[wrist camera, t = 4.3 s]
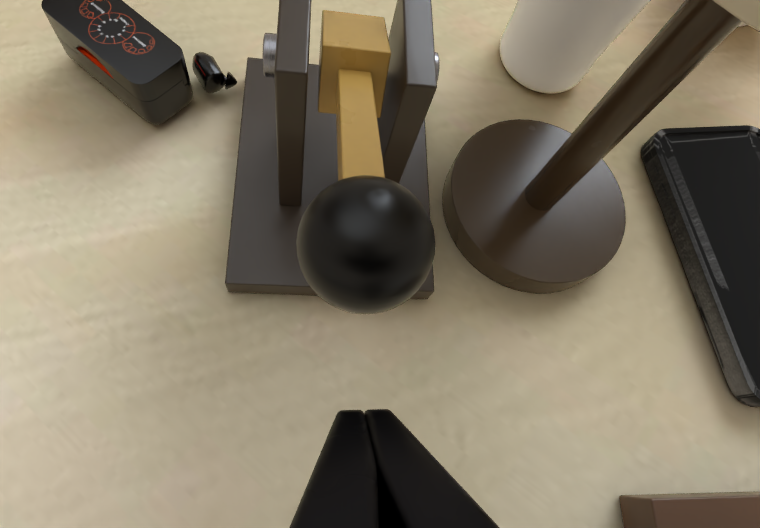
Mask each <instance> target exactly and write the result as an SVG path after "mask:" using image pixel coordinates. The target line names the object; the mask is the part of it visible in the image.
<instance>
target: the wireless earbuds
mask: <svg viewBox="0 0 760 528" xmlns="http://www.w3.org/2000/svg"><path fill="white" fill-rule="evenodd" d="M42 9H43V11H44V12H45V14H46V16H47V18H48V20H49V22H50V24H51V25H52V27H53V29H54V31H55V33H56V35H57V36H58V38H59V40H60V42H61V44H62V46H63V48H64V50H65V51H66V53H67V54H68V55H69V57H70V58H71V59H72V60H74V61H75V62H76V63H77V64H78V65H80V66H81V67H82V68H83V69H84V70H86V71H87V72H88V73H89V74H90V75H92V76H93V77H94V78H95V79H96V80H98V81H99V82H100V83H101V84H103V85H104V86H105V87H106V88H107V89H109V90H110V91H111V92H112V93H113V94H115V95H116V96H117V97H118V98H119V99H121V100H122V101H123V102H124V103H125V104H127V105H128V106H129V107H130V108H131V109H133V110H134V111H135V112H136V113H137V114H139V115H140V116H141V117H142V118H143V119H145V120H146V121H147V122H149V123H151V124H161V123H163V122H165V121H166V120H168V119H169V118H170V117H172V116H173V115H174V114H176V113H177V112H178V111H180V110H181V109H182V108H184V107H185V106H186V105H188V104H189V103H190V102H191V100H192V98H193V91H192V87H191V83H190V79H189V75H188V71H187V67H186V63H185V59H184V55H183V52H182V49H181V48H180V47H179V46H178V45H177V44H176V43H174V42H173V41H172V40H171V39H169V38H168V37H167V36H166V35H164V34H163V33H162V32H161V31H159V30H158V29H157V28H156V27H154V26H153V25H152V24H151V23H149V22H148V21H147V20H146V19H144V18H143V17H142V16H141V15H139V14H138V13H137V12H136V11H134V10H133V9H132V8H131V7H129V6H128V5H127V4H126V3H124V2H123V1H122V0H43V1H42ZM193 71H194V73H195V75H196V77H197V78H198V80H199V82H200V83H201V85H202V86H203V88H204V90H205V91H206V92H207V93H214V92H217V91H219V90H220V89H222V88H223V85H225V84H226V85H225V89H229V88H231V87H233V86H234V85H236V84H237V81H236V79H235V78H234V77H233V75H232V74H231V73H230V72H228V74H227V77H225V75H224V74H223V73H222V71H221V70H220V68H219V66H218V65H217V63H216V61H215V60H214V58H213V57H212V56H210V55H208V54H206V53H203V52H199V53H196V54H195V55H194V57H193Z"/></svg>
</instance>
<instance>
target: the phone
mask: <svg viewBox="0 0 760 528" xmlns="http://www.w3.org/2000/svg"><path fill="white" fill-rule="evenodd" d="M641 155H642V159H643V162H644V164H645V167H646V170H647V172H648V175H649V177H650V180H651V183H652V185H653V188H654V191H655V193H656V196H657V199H658V201H659V204H660V207H661V209H662V212H663V215H664V217H665V220H666V222H667V225H668V228H669V230H670V233H671V236H672V238H673V241H674V244H675V246H676V249H677V251H678V254H679V257H680V259H681V262H682V265H683V267H684V270H685V273H686V275H687V278H688V281H689V283H690V286H691V288H692V291H693V294H694V296H695V299H696V302H697V304H698V307H699V310H700V312H701V315H702V317H703V320H704V323H705V325H706V328H707V331H708V333H709V336H710V339H711V341H712V344H713V347H714V349H715V352H716V354H717V357H718V360H719V362H720V365H721V368H722V370H723V373H724V375H725V378H726V381H727V383H728V386H729V388H730V390H731V392H732V393H733V394H734V396H735V397H736V398H737V399H738V400H739V401H741V402H742V403H744V404H746V405H749V406H751V407H759V406H760V129H758V128H756V127H753V126H747V125H746V126H720V127H695V128H669V129H662V130H660V131H658V132H657V133H656V134H654V135H653V136H652V137H651V138H650V139H649V140H648V141H647V142H646V143H645V144H644V145H643V147H642V150H641Z"/></svg>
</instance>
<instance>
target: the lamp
mask: <svg viewBox="0 0 760 528" xmlns="http://www.w3.org/2000/svg"><path fill="white" fill-rule="evenodd" d="M742 22H744V23H745V24H747V25H749V26H750V27H752V28H754V29H755V30H757V31H759V32H760V0H686V1H685V2H684V3H683V4H682V6H681V7H680V8H679V9H678V10H677V11H676V13H675V14H674V15H673V16H672V17H671V18H670V20H669V21H668V22H667V23H666V24H665V26H664V27H663V28H662V29H661V30H660V31H659V33H658V34H657V35H656V36H655V37H654V38H653V40H652V41H651V42H650V43H649V44H648V45H647V47H646V48H645V49H644V50H643V51H642V52H641V54H640V55H639V56H638V57H637V58H636V59H635V61H634V62H633V63H632V64H631V65H630V66H629V68H628V69H627V70H626V71H625V72H624V73H623V75H622V76H621V77H620V78H619V79H618V80H617V82H616V83H615V84H614V85H613V86H612V87H611V89H610V90H609V91H608V92H607V93H606V95H605V96H604V97H603V98H602V99H601V100H600V102H599V103H598V104H597V105H596V106H595V107H594V109H593V110H592V111H591V112H590V113H589V114H588V116H587V117H586V118H585V119H584V120H583V121H582V123H581V124H580V125H579V126H578V127H577V128H576V130H575V131H574V132H573V133H572V134H571V133H570V132H568V131H566V130H564V129H562V128H559V127H556V126H554V125H551V124H548V123H544V122H540V121H534V120H520V119H518V120H508V121H503V122H498V123H496V124H493V125H490V126H488V127H486V128H484V129H482V130H480V131H479V132H477V133H476V134H475V135H473V136H472V137H471V138H470V139H469V140H468V141H467V142H466V143H465V145H464V146H463V148H462V149H461V150H460V152H459V154H458V156H457V157H456V159H455V161H454V163H453V165H452V167H451V169H450V171H449V173H448V175H447V177H446V180H445V184H444V189H443V212H444V217H445V221H446V224H447V227H448V230H449V232H450V234H451V237H452V239H453V240H454V242H455V244H456V246H457V247H458V248H459V250H460V251H461V253H462V254H463V255H464V256H465V258H466V259H467V260H468V261H469V262H470V263H471V264H472V265H473V266H474V267H475V268H477V269H478V270H479V271H480V272H481V273H483V274H484V275H486V276H487V277H489V278H490V279H492V280H494V281H496V282H498V283H500V284H502V285H504V286H506V287H509V288H512V289H515V290H519V291H523V292H529V293H553V292H559V291H562V290H565V289H569V288H571V287H573V286H575V285H577V284H579V283H581V282H582V281H584V280H585V279H587V278H589V277H590V276H592V275H593V274H595V273H596V272H598V271H599V270H601V269H602V268H603V267H604V266H605V265H606V264H607V263H608V262H609V261H610V260H611V259H612V258H613V256H614V255H615V253H616V252H617V250H618V248H619V246H620V244H621V241H622V238H623V235H624V230H625V206H624V201H623V197H622V193H621V190H620V188H619V185H618V183H617V181H616V179H615V177H614V175H613V173H612V172H611V170H610V169H609V167H608V166H607V164H606V163H605V162H604V161H603V160H602V158H603V157H604V156H606V155H607V154H608V153H609V152H610V151H611V150H612V149H613V148H614V147H615V146H616V145H617V144H618V143H619V142H620V141H621V140H622V139H623V138H624V137H625V136H626V135H627V134H628V133H629V132H630V131H631V130H632V129H633V128H634V127H635V126H636V125H637V124H638V123H639V122H640V121H641V120H642V119H643V118H644V117H645V116H646V115H647V114H649V113H650V112H651V111H652V110H653V109H654V108H655V107H656V106H657V105H658V104H659V103H660V102H661V101H662V100H663V99H664V98H665V97H666V96H667V95H668V94H669V93H670V92H671V91H672V90H673V89H674V88H675V87H676V86H677V85H678V84H679V83H680V82H681V81H682V80H683V79H684V78H685V77H686V76H687V75H688V74H689V73H690V72H691V71H693V70H694V69H695V68H696V67H697V66H698V65H699V64H700V63H701V62H702V61H703V60H704V59H705V58H706V57H707V56H708V55H709V54H710V53H711V52H712V51H713V50H714V49H715V48H716V47H717V46H718V45H719V44H720V43H721V42H722V41H723V40H724V39H725V38H726V37H727V36H728V35H729V34H730V33H731V32H732V31H733V30H734V29H736V28H737V27H738V26H739V25H740V24H741V23H742Z"/></svg>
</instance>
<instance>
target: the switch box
mask: <svg viewBox="0 0 760 528" xmlns="http://www.w3.org/2000/svg"><path fill="white" fill-rule="evenodd" d="M619 499H620V505H621V511H622V517H623V523H624V528H760V492H727V493H690V494H654V495H621V496H619Z"/></svg>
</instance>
